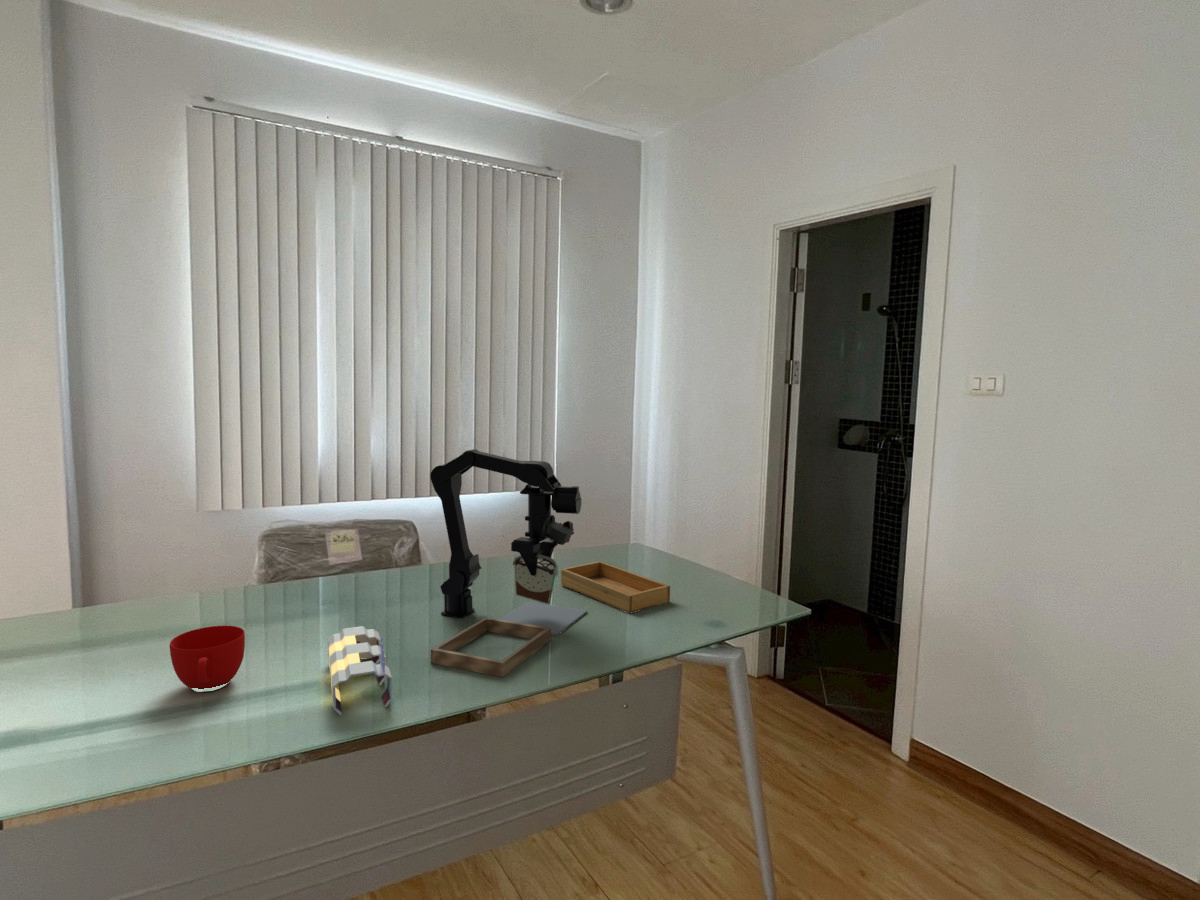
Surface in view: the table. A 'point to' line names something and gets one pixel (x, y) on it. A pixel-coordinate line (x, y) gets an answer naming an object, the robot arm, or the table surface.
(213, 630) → the ceramic cup
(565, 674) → the table surface
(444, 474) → the robot arm
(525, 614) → the slate mat
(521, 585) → the food container
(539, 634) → the walnut frame
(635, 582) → the tray
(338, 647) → the jagged striped arch
